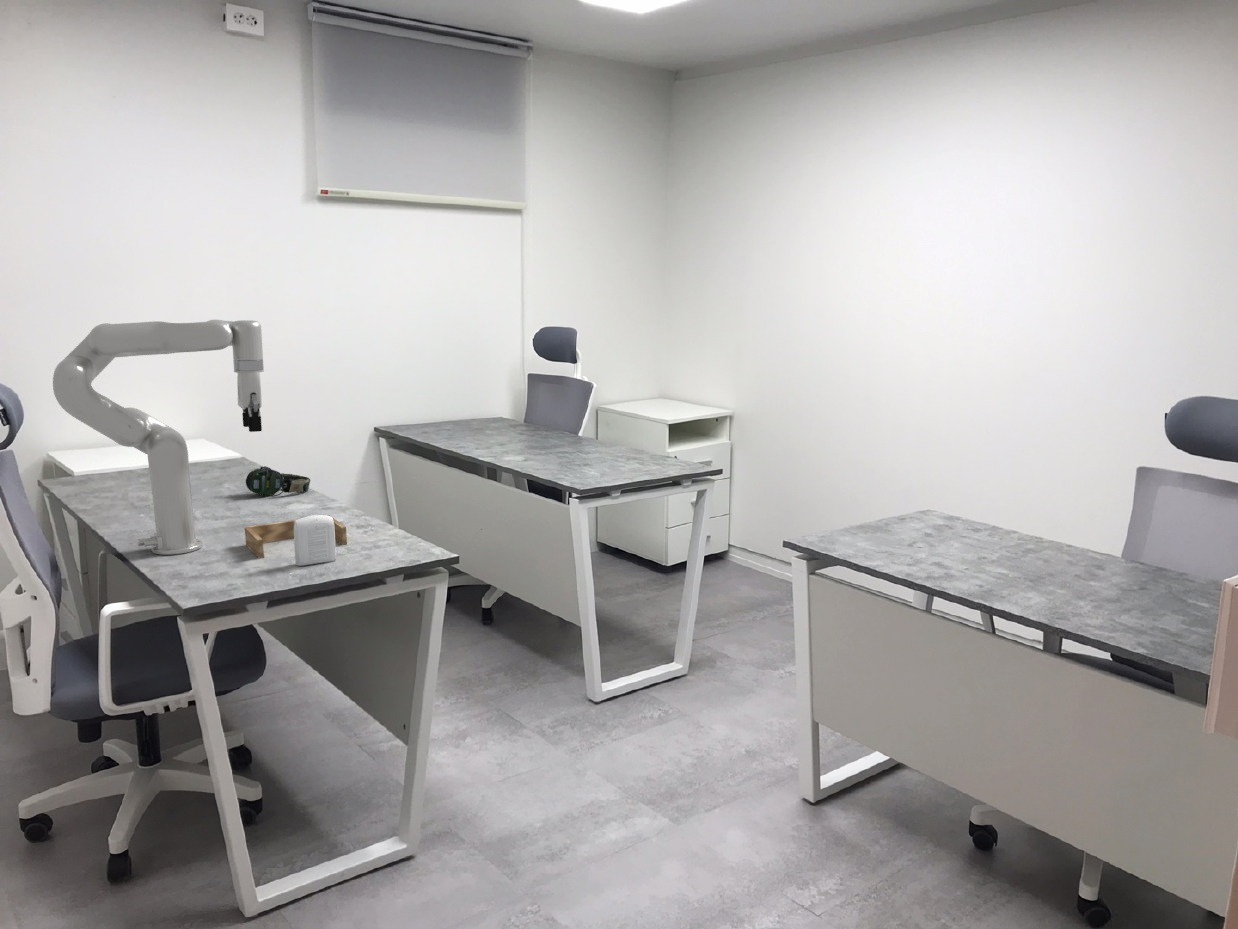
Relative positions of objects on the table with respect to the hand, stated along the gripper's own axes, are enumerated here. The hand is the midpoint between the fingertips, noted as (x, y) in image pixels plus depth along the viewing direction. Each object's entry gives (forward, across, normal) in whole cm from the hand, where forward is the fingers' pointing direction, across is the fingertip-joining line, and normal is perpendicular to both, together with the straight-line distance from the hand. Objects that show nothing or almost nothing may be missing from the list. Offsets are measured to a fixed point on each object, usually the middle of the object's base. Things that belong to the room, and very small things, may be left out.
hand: (252, 428), depth 263 cm
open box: (+31, +11, +8) cm, 34 cm away
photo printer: (+31, +31, +9) cm, 45 cm away
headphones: (+31, -57, +16) cm, 67 cm away
